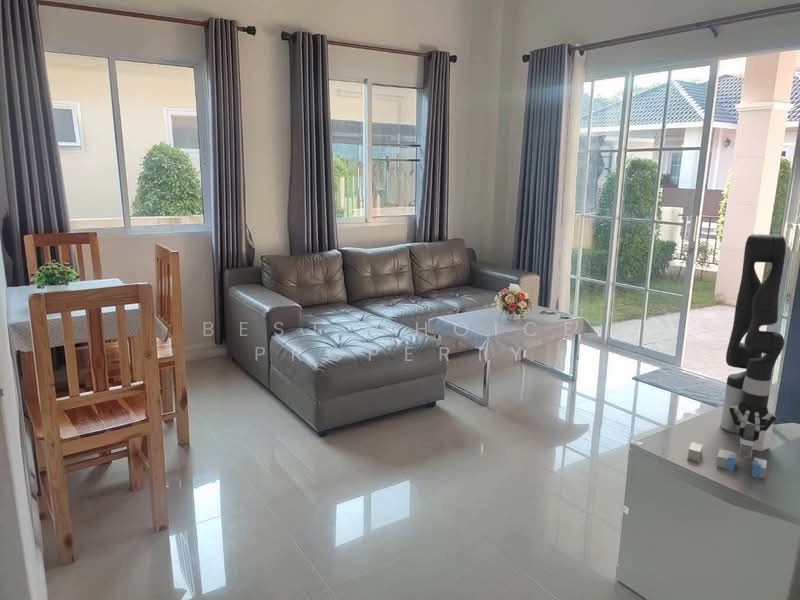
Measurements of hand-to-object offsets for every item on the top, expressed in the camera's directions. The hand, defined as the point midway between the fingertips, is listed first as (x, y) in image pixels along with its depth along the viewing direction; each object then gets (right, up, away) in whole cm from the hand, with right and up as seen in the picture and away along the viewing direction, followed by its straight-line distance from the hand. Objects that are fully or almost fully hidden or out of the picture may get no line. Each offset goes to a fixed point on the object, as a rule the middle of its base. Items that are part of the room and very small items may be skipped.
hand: (748, 438), depth 190 cm
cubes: (-8, -8, -1) cm, 12 cm away
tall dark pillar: (-1, -2, -1) cm, 2 cm away
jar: (+9, -5, +11) cm, 16 cm away
